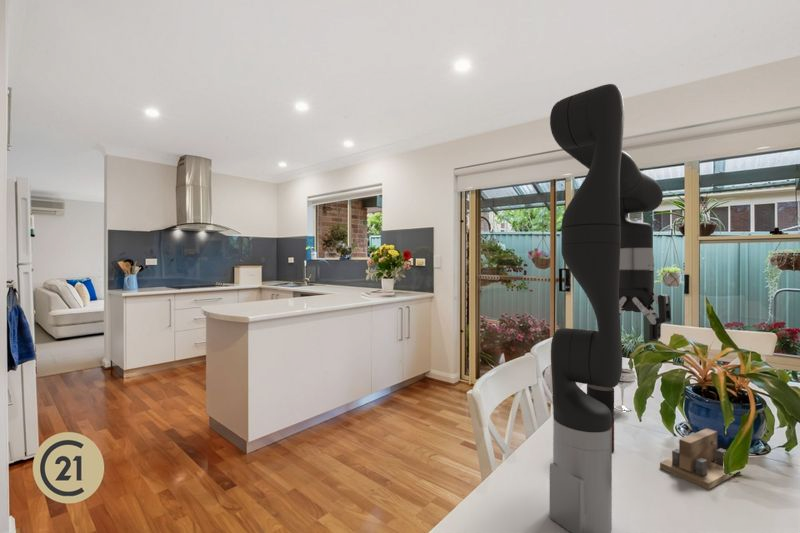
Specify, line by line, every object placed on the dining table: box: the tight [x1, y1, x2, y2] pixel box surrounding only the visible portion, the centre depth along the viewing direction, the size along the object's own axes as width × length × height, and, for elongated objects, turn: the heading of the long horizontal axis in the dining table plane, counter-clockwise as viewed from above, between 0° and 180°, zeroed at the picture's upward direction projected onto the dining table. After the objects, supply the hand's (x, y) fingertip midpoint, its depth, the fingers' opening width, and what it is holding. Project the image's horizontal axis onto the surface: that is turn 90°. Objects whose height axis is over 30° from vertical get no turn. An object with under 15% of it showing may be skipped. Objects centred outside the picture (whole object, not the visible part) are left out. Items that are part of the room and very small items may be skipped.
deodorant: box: [586, 384, 615, 454], centre depth 91 cm, size 6×6×15 cm
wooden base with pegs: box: [659, 447, 735, 490], centre depth 82 cm, size 14×9×4 cm, turn 118°
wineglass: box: [615, 367, 636, 410], centre depth 118 cm, size 7×7×12 cm
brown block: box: [678, 427, 718, 472], centre depth 81 cm, size 12×2×6 cm, turn 118°
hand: (634, 337), depth 86 cm, fingers open, 8 cm apart
